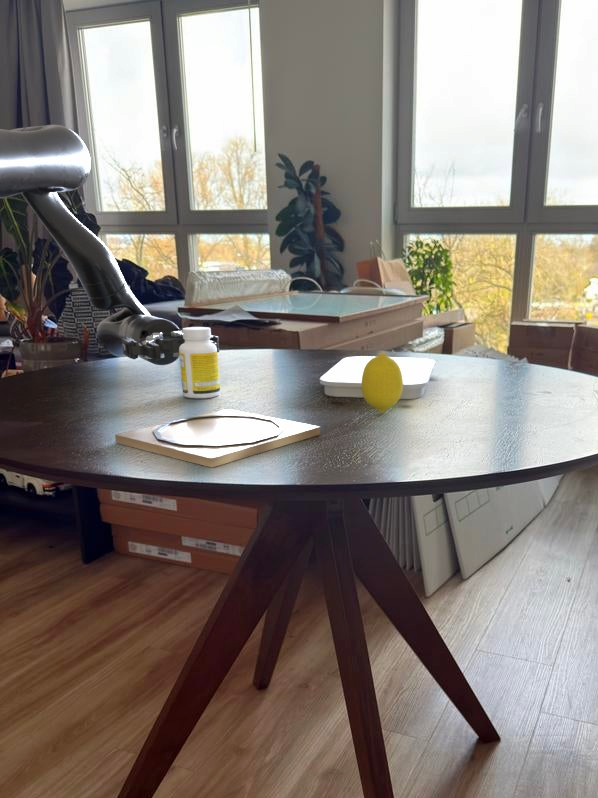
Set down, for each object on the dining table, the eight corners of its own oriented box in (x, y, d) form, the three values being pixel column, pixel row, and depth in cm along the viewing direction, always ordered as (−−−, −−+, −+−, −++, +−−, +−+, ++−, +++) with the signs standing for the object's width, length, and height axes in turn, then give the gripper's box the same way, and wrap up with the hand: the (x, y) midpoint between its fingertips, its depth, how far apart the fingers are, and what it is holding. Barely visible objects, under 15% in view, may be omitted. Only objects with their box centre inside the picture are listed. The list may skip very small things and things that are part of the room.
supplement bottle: (227, 394, 109) (223, 327, 105) (205, 400, 104) (199, 331, 101) (198, 391, 111) (193, 325, 107) (175, 397, 106) (168, 328, 103)
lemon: (360, 417, 95) (360, 356, 92) (362, 408, 100) (362, 349, 97) (402, 417, 95) (403, 356, 92) (402, 408, 100) (403, 350, 97)
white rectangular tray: (436, 371, 129) (436, 358, 129) (425, 400, 105) (425, 385, 104) (346, 368, 131) (346, 355, 131) (316, 396, 107) (315, 381, 106)
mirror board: (211, 467, 73) (211, 456, 73) (115, 442, 82) (114, 432, 82) (320, 434, 86) (320, 424, 86) (227, 416, 95) (226, 407, 95)
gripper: (107, 318, 117) (136, 328, 104) (192, 314, 124) (229, 323, 112) (113, 365, 120) (141, 380, 107) (196, 358, 127) (232, 372, 114)
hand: (186, 351), depth 109 cm, fingers open, 8 cm apart
